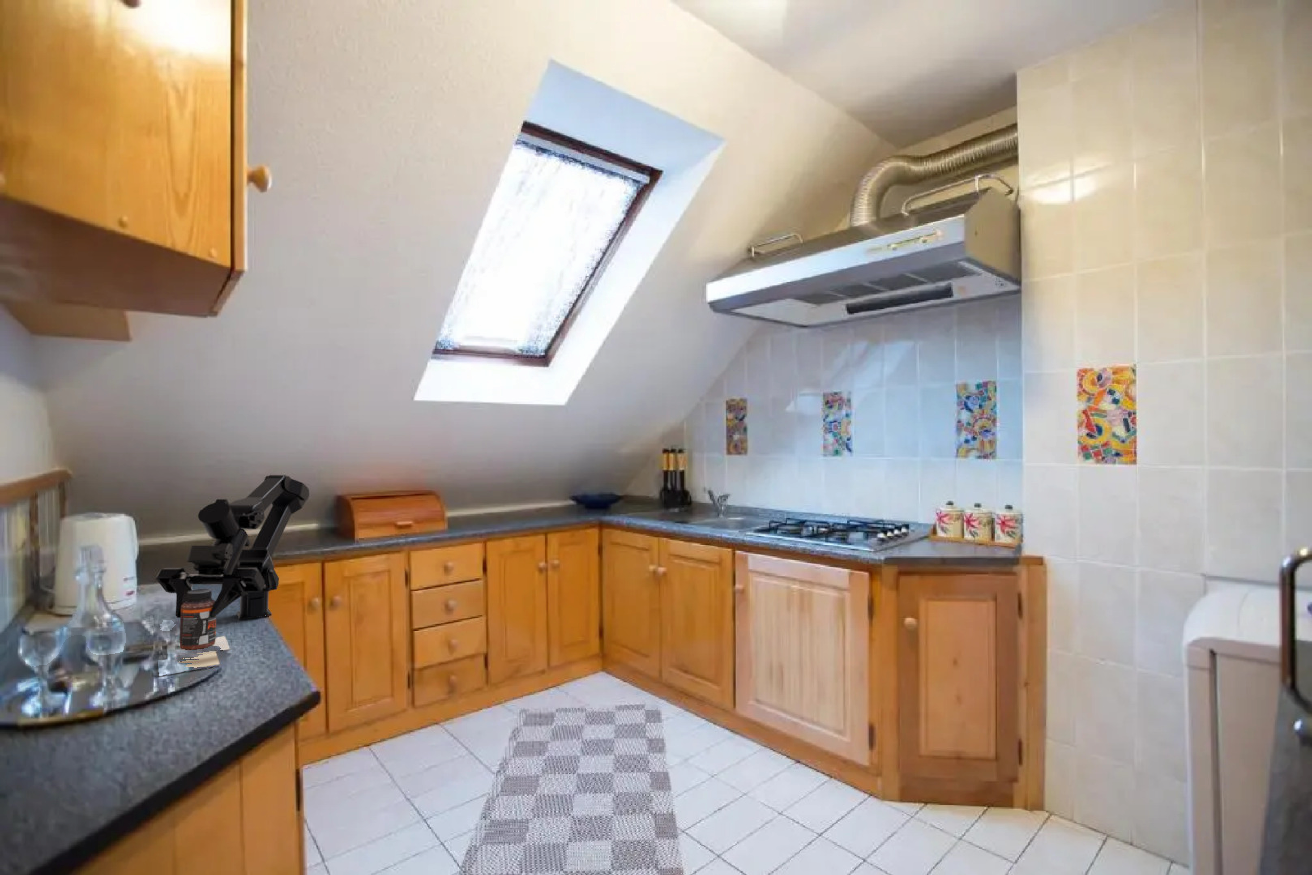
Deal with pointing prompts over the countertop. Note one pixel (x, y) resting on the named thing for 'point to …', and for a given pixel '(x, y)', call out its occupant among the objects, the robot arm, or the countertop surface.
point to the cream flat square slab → (221, 643)
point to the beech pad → (203, 660)
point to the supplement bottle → (197, 621)
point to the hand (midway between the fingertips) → (194, 616)
